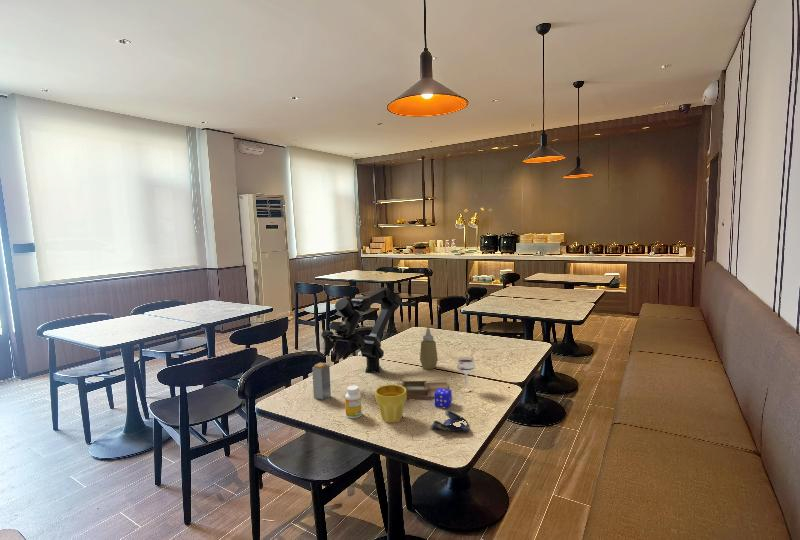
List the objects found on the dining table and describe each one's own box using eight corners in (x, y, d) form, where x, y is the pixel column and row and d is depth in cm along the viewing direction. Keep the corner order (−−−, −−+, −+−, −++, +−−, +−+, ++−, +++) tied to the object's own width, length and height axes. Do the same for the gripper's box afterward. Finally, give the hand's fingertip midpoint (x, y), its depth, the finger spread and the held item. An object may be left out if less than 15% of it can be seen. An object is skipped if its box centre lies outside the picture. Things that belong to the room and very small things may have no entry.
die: (448, 408, 146) (448, 394, 145) (434, 406, 148) (434, 393, 147) (451, 403, 151) (451, 389, 150) (438, 401, 152) (438, 388, 152)
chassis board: (396, 385, 168) (396, 378, 168) (446, 384, 168) (446, 377, 168) (395, 399, 154) (395, 392, 154) (450, 398, 154) (450, 390, 154)
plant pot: (382, 428, 133) (381, 398, 132) (371, 415, 142) (370, 387, 141) (412, 421, 137) (411, 392, 136) (399, 409, 146) (398, 382, 145)
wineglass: (478, 389, 162) (478, 359, 161) (468, 394, 157) (468, 363, 156) (463, 385, 167) (463, 356, 165) (453, 390, 162) (453, 360, 160)
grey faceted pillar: (321, 393, 162) (320, 361, 161) (330, 396, 160) (329, 363, 158) (313, 398, 158) (312, 365, 157) (322, 400, 156) (321, 366, 155)
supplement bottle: (347, 411, 146) (346, 384, 145) (362, 411, 145) (361, 384, 144) (344, 418, 140) (343, 390, 139) (360, 418, 140) (359, 390, 139)
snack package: (439, 418, 140) (425, 432, 129) (442, 400, 139) (428, 413, 128) (473, 431, 134) (461, 447, 124) (477, 412, 134) (465, 427, 123)
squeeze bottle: (441, 366, 190) (440, 327, 188) (432, 371, 183) (431, 331, 182) (425, 363, 195) (424, 325, 193) (416, 368, 188) (415, 329, 186)
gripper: (322, 311, 172) (305, 344, 163) (359, 314, 162) (342, 350, 154) (336, 325, 179) (319, 358, 171) (372, 330, 170) (356, 364, 161)
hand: (333, 357), depth 164 cm, fingers open, 9 cm apart
